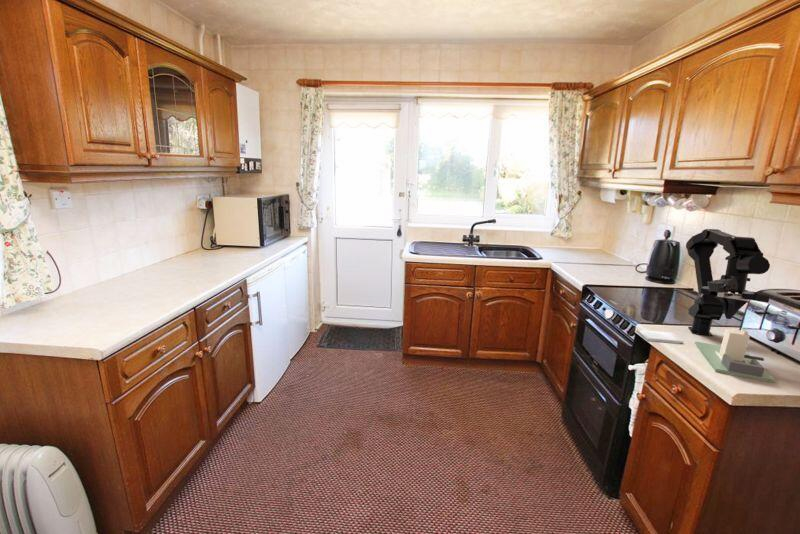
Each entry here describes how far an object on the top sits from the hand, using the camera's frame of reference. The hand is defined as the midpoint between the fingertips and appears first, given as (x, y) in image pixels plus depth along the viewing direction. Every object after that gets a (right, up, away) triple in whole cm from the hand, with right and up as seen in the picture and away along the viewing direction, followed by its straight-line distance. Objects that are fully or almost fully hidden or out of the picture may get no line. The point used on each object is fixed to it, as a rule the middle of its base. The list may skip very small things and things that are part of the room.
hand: (728, 318), depth 129 cm
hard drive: (-15, -9, +12) cm, 22 cm away
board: (-4, -13, -5) cm, 15 cm away
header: (-7, -14, -13) cm, 20 cm away
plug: (-1, -12, -6) cm, 14 cm away
